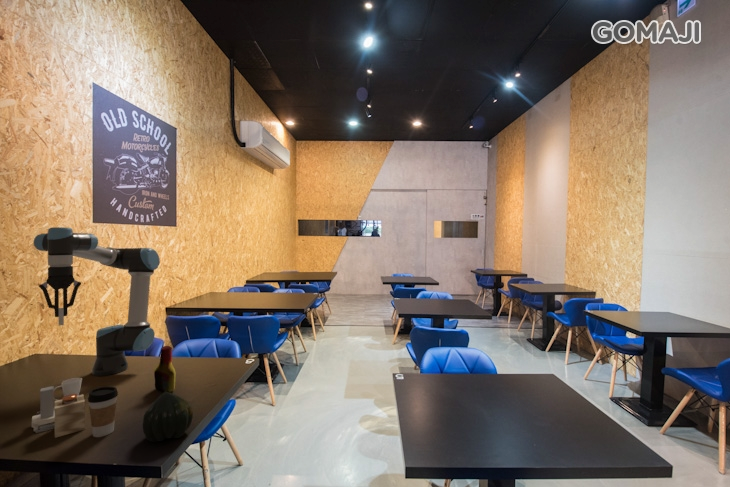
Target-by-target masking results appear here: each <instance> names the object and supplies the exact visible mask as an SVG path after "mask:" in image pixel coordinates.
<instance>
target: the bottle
mask: <svg viewBox="0 0 730 487" xmlns="http://www.w3.org/2000/svg"><path fill="white" fill-rule="evenodd" d="M172 349H173V347H171V345H163V347H161V348H160V358H159V363H158V364H157V365H156V367H155V368H154V371H153V373H154V374H153V375H154V387H155V388H154V389H155V390H156V391H160V392H162V393H164V392H169V393H171V392H173V391H174V390H176V388H175V386H176V369H175V368H174V367H175V366H173V363H172V362H173V352H172V351H173V350H172Z"/></svg>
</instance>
